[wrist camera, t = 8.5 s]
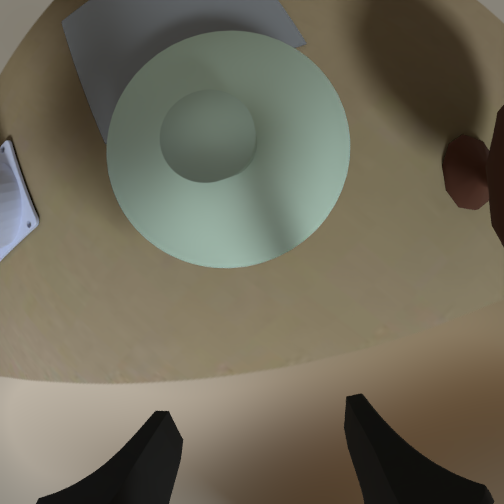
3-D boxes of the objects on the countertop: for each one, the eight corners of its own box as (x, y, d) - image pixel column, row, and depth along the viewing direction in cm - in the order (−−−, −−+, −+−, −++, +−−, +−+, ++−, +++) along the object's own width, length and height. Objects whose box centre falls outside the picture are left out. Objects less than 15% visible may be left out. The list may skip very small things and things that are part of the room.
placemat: (106, 144, 16) (105, 144, 16) (62, 22, 13) (61, 21, 13) (305, 44, 14) (306, 43, 14) (223, -64, 11) (223, -66, 11)
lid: (176, 295, 15) (148, 341, 11) (85, 109, 12) (33, 98, 8) (379, 206, 13) (422, 224, 9) (280, 8, 10) (285, -41, 6)
